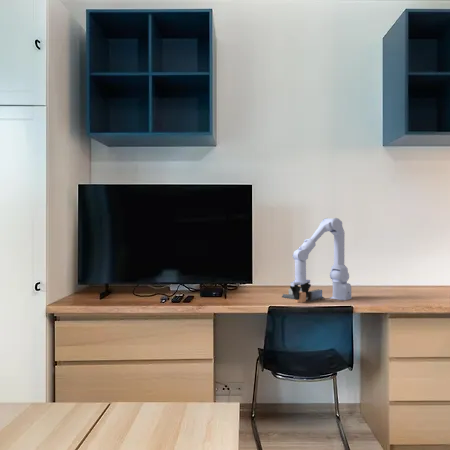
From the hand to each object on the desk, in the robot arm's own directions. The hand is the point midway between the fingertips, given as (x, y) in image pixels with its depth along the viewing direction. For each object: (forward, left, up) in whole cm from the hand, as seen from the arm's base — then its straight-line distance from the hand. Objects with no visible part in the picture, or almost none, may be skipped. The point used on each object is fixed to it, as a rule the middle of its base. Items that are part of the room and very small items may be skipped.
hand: (300, 298), depth 227 cm
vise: (+6, -10, -1) cm, 11 cm away
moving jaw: (+10, -10, -1) cm, 14 cm away
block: (0, 0, -2) cm, 2 cm away
